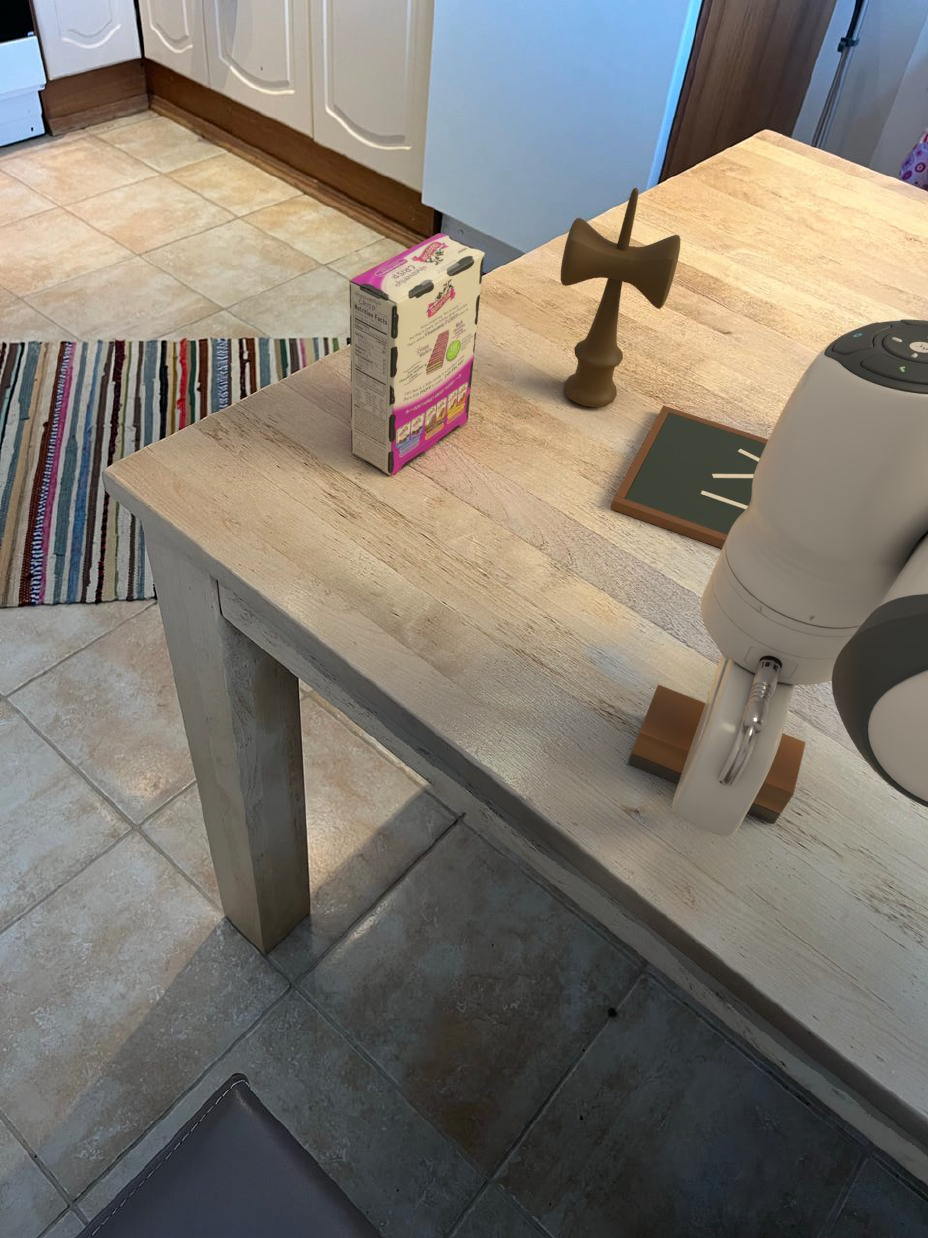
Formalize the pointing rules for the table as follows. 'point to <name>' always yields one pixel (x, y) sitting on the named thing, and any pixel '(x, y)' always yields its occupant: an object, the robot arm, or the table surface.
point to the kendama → (612, 297)
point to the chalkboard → (691, 476)
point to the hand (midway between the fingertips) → (713, 748)
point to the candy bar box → (412, 350)
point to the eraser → (672, 738)
